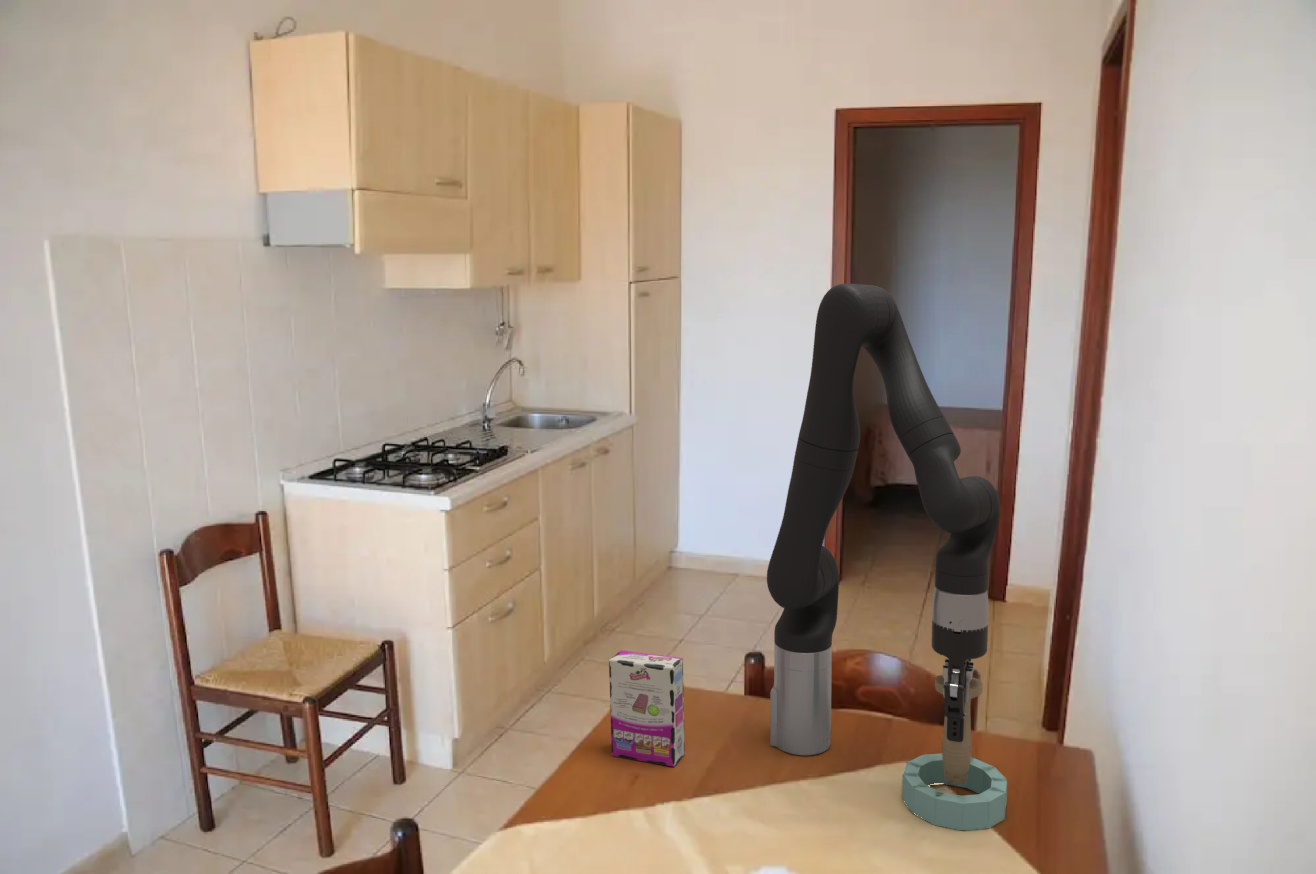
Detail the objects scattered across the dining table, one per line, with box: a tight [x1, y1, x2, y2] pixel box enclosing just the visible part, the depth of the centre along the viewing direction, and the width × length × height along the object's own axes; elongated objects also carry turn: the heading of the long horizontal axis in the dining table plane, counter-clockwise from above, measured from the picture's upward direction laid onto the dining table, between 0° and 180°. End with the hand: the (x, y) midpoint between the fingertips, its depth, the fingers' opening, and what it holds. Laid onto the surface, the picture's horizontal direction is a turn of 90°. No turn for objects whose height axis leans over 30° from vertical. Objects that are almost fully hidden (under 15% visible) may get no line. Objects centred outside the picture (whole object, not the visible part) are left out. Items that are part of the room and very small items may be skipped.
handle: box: [934, 674, 984, 785], centre depth 135 cm, size 5×6×15 cm
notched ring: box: [901, 752, 1008, 831], centre depth 137 cm, size 14×14×4 cm
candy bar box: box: [608, 649, 686, 767], centre depth 151 cm, size 11×5×16 cm, turn 68°
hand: (956, 733), depth 135 cm, fingers closed on handle, 3 cm apart
